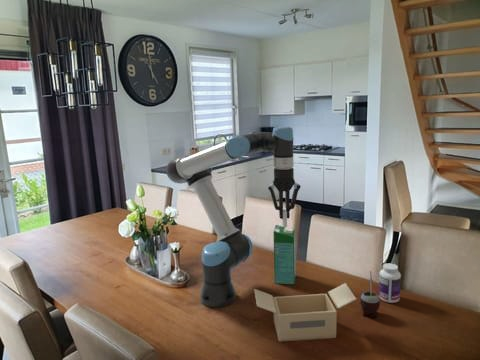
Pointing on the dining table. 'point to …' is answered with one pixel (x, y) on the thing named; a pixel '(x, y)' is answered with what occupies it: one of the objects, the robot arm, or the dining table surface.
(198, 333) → the dining table surface
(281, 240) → the milk carton
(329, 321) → the carton
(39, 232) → the dining table surface
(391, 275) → the pill bottle
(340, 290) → the flap right
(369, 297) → the mate gourd
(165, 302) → the dining table surface
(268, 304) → the flap left
